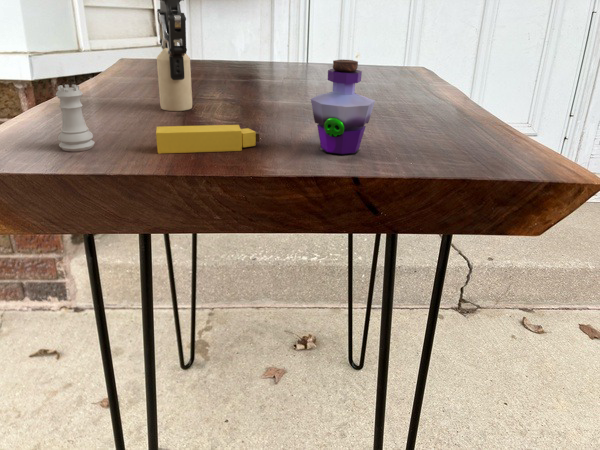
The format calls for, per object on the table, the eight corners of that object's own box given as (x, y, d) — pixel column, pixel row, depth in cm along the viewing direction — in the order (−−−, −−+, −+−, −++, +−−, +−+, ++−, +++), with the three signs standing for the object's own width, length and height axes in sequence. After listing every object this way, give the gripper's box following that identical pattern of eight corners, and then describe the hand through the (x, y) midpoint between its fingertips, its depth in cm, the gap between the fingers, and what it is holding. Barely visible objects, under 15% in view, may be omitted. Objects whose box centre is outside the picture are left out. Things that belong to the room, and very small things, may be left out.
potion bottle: (309, 158, 69) (313, 63, 64) (307, 140, 77) (311, 54, 72) (375, 160, 69) (384, 65, 64) (366, 141, 77) (373, 56, 72)
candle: (196, 105, 95) (194, 47, 91) (185, 112, 90) (182, 51, 86) (167, 103, 96) (163, 45, 92) (155, 110, 91) (150, 49, 87)
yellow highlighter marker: (157, 153, 69) (155, 132, 68) (158, 146, 72) (156, 125, 71) (261, 150, 72) (261, 130, 70) (257, 143, 75) (257, 123, 74)
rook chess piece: (59, 143, 71) (50, 83, 68) (95, 141, 73) (87, 82, 69) (58, 153, 68) (47, 90, 64) (95, 150, 69) (87, 89, 66)
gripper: (137, -34, 88) (147, 70, 95) (148, -34, 76) (158, 85, 83) (183, -33, 91) (188, 68, 98) (200, -32, 79) (205, 83, 86)
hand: (174, 75), depth 91 cm, fingers closed on candle, 5 cm apart
